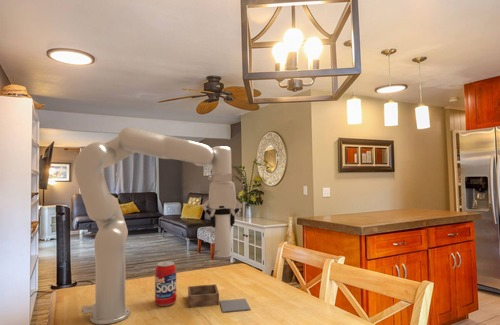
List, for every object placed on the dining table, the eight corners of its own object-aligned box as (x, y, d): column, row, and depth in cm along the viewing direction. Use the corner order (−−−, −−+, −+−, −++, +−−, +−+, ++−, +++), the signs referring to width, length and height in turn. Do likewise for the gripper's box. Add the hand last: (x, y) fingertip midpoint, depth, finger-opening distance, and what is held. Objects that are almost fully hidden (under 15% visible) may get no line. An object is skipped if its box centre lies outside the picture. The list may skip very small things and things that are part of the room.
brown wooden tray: (188, 307, 120) (188, 296, 120) (188, 296, 131) (188, 286, 131) (219, 304, 122) (219, 293, 122) (216, 294, 133) (216, 284, 133)
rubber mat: (222, 312, 115) (222, 311, 115) (219, 302, 125) (219, 300, 125) (250, 310, 117) (250, 308, 117) (245, 299, 127) (245, 298, 127)
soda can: (172, 297, 129) (172, 259, 130) (179, 304, 123) (179, 263, 123) (152, 302, 125) (152, 262, 126) (158, 309, 119) (158, 267, 119)
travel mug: (213, 260, 120) (212, 206, 121) (215, 256, 127) (214, 204, 128) (230, 260, 120) (229, 205, 121) (231, 256, 127) (230, 204, 128)
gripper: (199, 179, 119) (200, 229, 118) (246, 178, 123) (247, 226, 122) (198, 179, 126) (198, 226, 126) (242, 178, 130) (243, 223, 130)
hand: (222, 225), depth 124 cm, fingers closed on travel mug, 6 cm apart
